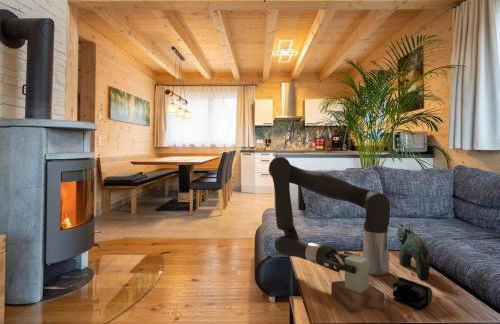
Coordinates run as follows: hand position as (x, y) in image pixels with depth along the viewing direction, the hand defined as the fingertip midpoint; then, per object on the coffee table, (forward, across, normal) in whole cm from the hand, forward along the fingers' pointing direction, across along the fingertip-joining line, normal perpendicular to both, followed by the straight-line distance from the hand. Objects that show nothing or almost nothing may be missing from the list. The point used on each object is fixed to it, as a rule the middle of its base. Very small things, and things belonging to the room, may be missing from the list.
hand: (362, 267), depth 101 cm
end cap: (+11, +13, +12) cm, 21 cm away
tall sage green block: (-2, 0, +7) cm, 8 cm away
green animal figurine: (+1, +41, +12) cm, 43 cm away
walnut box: (-2, 0, +12) cm, 13 cm away
